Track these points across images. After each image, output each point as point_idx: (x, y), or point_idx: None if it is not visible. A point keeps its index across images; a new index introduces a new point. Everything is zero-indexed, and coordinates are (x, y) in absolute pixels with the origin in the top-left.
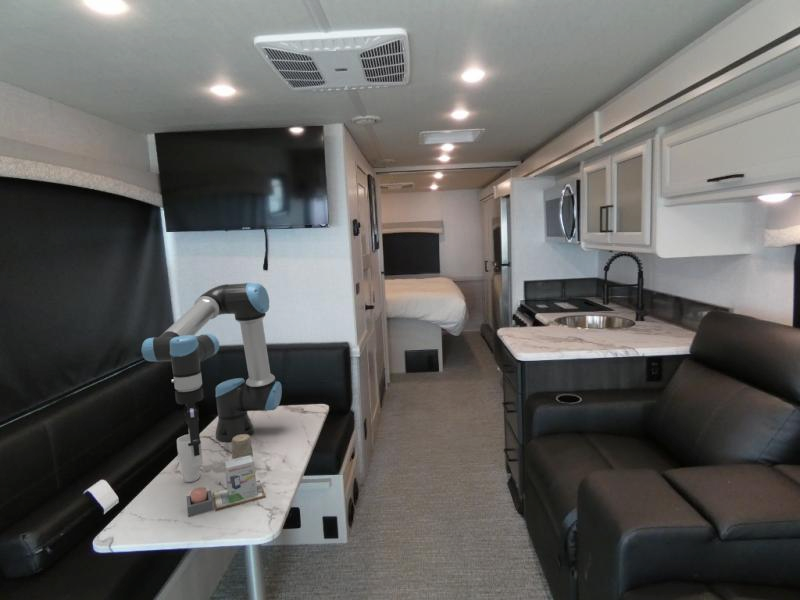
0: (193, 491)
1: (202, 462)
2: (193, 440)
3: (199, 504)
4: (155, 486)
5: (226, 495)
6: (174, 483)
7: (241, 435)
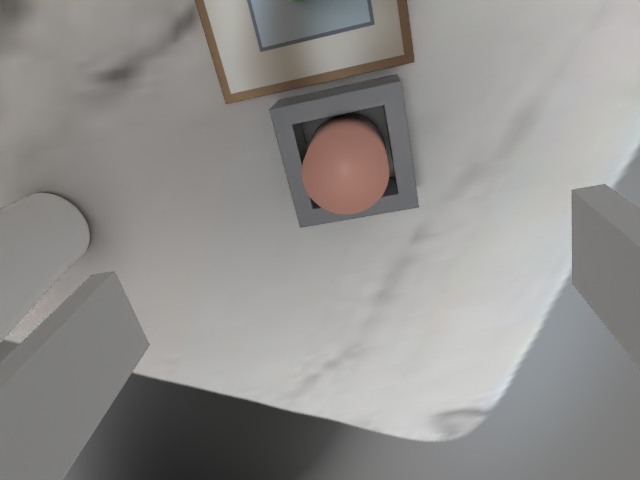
0: (340, 200)
1: (615, 195)
2: (90, 376)
3: (410, 149)
4: None
5: (283, 13)
6: None
7: None
